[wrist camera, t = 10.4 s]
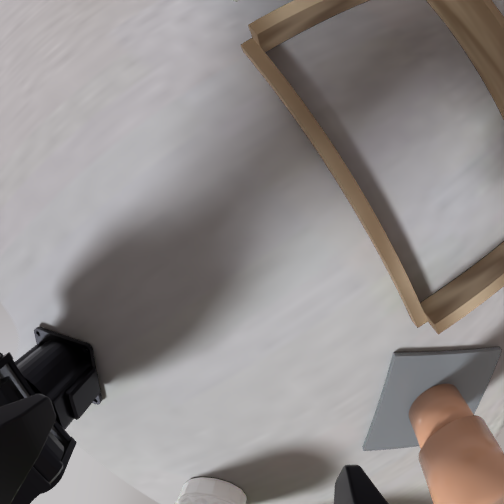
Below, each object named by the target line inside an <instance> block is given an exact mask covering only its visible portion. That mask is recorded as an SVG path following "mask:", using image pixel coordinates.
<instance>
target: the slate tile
mask: <svg viewBox="0 0 504 504" xmlns="http://www.w3.org/2000/svg"><path fill="white" fill-rule="evenodd" d="M501 351H502V349H501V348H500V347H492V348H481V349H468V350H453V351H434V352H399V353H393V356H392V360H391V364H390V367H389V371H388V374H387V378H386V381H385V384H384V388H383V391H382V394H381V397H380V400H379V403H378V406H377V409H376V412H375V415H374V418H373V421H372V423H371V426H370V429H369V432H368V434H367V437H366V440H365V442H364V445H363V451H372V450H386V449H397V448H406V447H415V446H419V443H418V440H417V438H416V435H415V433H414V430H413V427H412V425H411V422H410V420H409V410H410V407H411V405H412V404H413V402H414V401H415V400H416V399H417V397H418V396H420V395H421V394H422V393H423V392H424V391H426V390H428V389H429V388H431V387H433V386H436V385H439V384H452V385H454V386H455V387H456V388H457V389H458V391H459V392H460V394H461V395H462V397H463V398H464V400H465V401H466V403H467V405H468V406H469V408H470V409H471V411H472V413H473V414H474V413H475V411H476V409H477V407H478V405H479V403H480V401H481V399H482V396H483V394H484V392H485V390H486V388H487V386H488V383H489V381H490V379H491V376H492V374H493V372H494V369H495V367H496V364H497V362H498V359H499V356H500V354H501Z"/></svg>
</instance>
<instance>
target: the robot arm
mask: <svg viewBox="0 0 504 504" xmlns="http://www.w3.org/2000/svg"><path fill="white" fill-rule="evenodd" d="M34 333H35V338H36V342H37V345H36V346H35V347H33V348H32V349H31V350H29V351H28V352H27V353H26V354H24V355H23V356H22V357H21V358H19V359H18V360H17V361H16V362H14V361H13V357H12V356H11V354H10V353H7V354H5V355H4V356H3V354H1V353H0V504H30V503H31V502H32V501H33V500H34V498H36V497H37V496H38V495H39V494H41V493H45V492H47V491H49V490H50V489H52V488H53V487H54V486H55V485H56V484H57V483H58V482H59V481H60V479H61V478H62V476H63V474H64V471H65V469H66V467H67V464H68V461H69V459H70V457H71V454H72V452H73V449H74V447H75V445H76V441H75V440H74V439H73V438H72V437H70V436H69V434H68V433H67V432H66V431H65V429H66V428H67V426H68V425H69V424H70V423H71V422H72V420H73V419H76V420H77V419H79V418H80V417H81V416H82V414H83V413H84V412H85V411H86V409H87V408H88V407H89V406H90V404H91V403H94V404H100V403H101V401H102V397H101V393H100V387H99V382H98V377H97V371H96V367H95V361H94V355H93V349H92V347H91V345H89V344H88V343H86V342H82V341H79V340H76V339H73V338H70V337H67V336H64V335H61V334H58V333H55V332H53V331H50V330H47V329H44V328H41V327H37V328H36V329H35V330H34ZM86 349H87V350H86ZM334 504H388V503H387V501H386V500H385V499H384V497H383V496H382V495H381V493H380V492H379V491H378V489H377V488H376V487H375V486H374V484H373V483H372V482H371V480H370V479H369V478H368V476H367V475H366V474H365V472H364V471H363V469H362V468H361V467H360V466H359V465H345V466H344V467H343V469H342V471H341V472H340V474H339V476H338V478H337V480H336V483H335V494H334Z"/></svg>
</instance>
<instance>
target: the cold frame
mask: <svg viewBox="0 0 504 504" xmlns="http://www.w3.org/2000/svg"><path fill="white" fill-rule="evenodd" d="M234 1H236V2H237V1H239V0H234ZM366 1H369V0H294V1H292V2H290V3H288V4H286V5H284V6H282V7H280V8H278V9H276V10H274V11H272V12H270V13H268V14H267V15H265V16H263V17H261V18H259V19H258V20H256V21H254V22H252V23H251V24H249V25H248V26H249V29H250V32H251V35H252V38H251V39H249V40H248V41H246V42H244V43H243V44H241V47H242V49H243V52H244V53H245V54H246V55H247V57H248V58H249V59H250V60H251V62H252V63H253V64H254V65H255V67H256V68H257V69H258V70H259V72H260V73H261V74H262V75H263V77H264V78H265V79H266V81H267V82H268V83H269V85H270V86H271V87H272V88H273V90H274V91H275V92H276V94H277V95H278V96H279V98H280V99H281V101H282V102H283V103H284V105H285V106H286V107H287V109H288V110H289V111H290V113H291V114H292V116H293V117H294V118H295V120H296V121H297V123H298V124H299V126H300V127H301V128H302V130H303V131H304V133H305V134H306V136H307V137H308V139H309V140H310V141H311V143H312V144H313V146H314V147H315V149H316V150H317V152H318V153H319V155H320V156H321V158H322V159H323V161H324V163H325V164H326V166H327V167H328V169H329V170H330V172H331V173H332V175H333V177H334V178H335V180H336V181H337V183H338V185H339V186H340V188H341V189H342V191H343V193H344V194H345V196H346V198H347V199H348V201H349V203H350V204H351V206H352V208H353V209H354V211H355V213H356V214H357V216H358V218H359V220H360V221H361V223H362V225H363V227H364V228H365V230H366V232H367V234H368V235H369V237H370V239H371V241H372V243H373V244H374V246H375V248H376V250H377V252H378V254H379V255H380V257H381V259H382V261H383V263H384V265H385V267H386V269H387V271H388V272H389V274H390V276H391V278H392V280H393V282H394V284H395V286H396V288H397V290H398V292H399V294H400V296H401V298H402V300H403V302H404V304H405V307H406V309H407V311H408V313H409V315H410V317H411V319H412V321H413V322H414V324H415V325H416V326H417V328H418V327H420V326H422V325H423V324H425V323H426V322H429V323H430V325H431V326H432V327H433V328H434V330H435V331H436V332H437V333H438V334H440V333H441V332H443V331H444V330H446V329H447V328H449V327H450V326H451V325H453V324H454V323H456V322H457V321H459V320H460V319H461V318H463V317H464V316H466V315H467V314H468V313H470V312H471V311H472V310H474V309H475V308H476V307H478V306H479V305H480V304H482V303H483V302H484V301H486V300H487V299H488V298H490V297H491V296H492V295H493V294H495V293H496V292H497V291H498V290H500V289H501V288H502V287H503V286H504V242H503V243H501V244H500V245H499V246H498V247H497V248H495V249H494V250H493V251H492V252H490V253H489V254H488V255H487V256H485V257H484V258H483V259H481V260H480V261H479V262H477V263H476V264H475V265H473V266H472V267H471V268H470V269H468V270H467V271H465V272H464V273H463V274H461V275H460V276H459V277H457V278H456V279H454V280H453V281H452V282H450V283H449V284H447V285H446V286H445V287H443V288H442V289H440V290H439V291H437V292H436V293H434V294H433V295H431V296H430V297H428V298H427V299H425V300H424V301H422V302H421V303H420V302H419V300H418V298H417V296H416V293H415V291H414V289H413V287H412V285H411V283H410V281H409V278H408V276H407V274H406V272H405V270H404V268H403V266H402V264H401V262H400V260H399V258H398V256H397V254H396V252H395V250H394V248H393V246H392V244H391V242H390V241H389V239H388V237H387V235H386V233H385V231H384V229H383V228H382V226H381V224H380V222H379V220H378V218H377V217H376V215H375V213H374V211H373V209H372V208H371V206H370V204H369V202H368V201H367V199H366V197H365V196H364V194H363V192H362V191H361V189H360V187H359V185H358V184H357V182H356V181H355V179H354V177H353V176H352V174H351V172H350V171H349V169H348V168H347V166H346V164H345V163H344V161H343V160H342V158H341V156H340V155H339V153H338V152H337V150H336V149H335V147H334V146H333V144H332V143H331V141H330V140H329V138H328V137H327V135H326V134H325V132H324V131H323V129H322V128H321V126H320V125H319V123H318V122H317V121H316V119H315V118H314V116H313V115H312V114H311V112H310V111H309V109H308V108H307V107H306V105H305V104H304V102H303V101H302V100H301V98H300V97H299V96H298V94H297V93H296V92H295V90H294V89H293V88H292V86H291V85H290V84H289V82H288V81H287V80H286V78H285V77H284V76H283V75H282V73H281V72H280V71H279V69H278V68H277V67H276V66H275V64H274V63H273V62H272V61H271V59H270V58H269V57H268V56H267V55H266V53H265V52H267V51H269V50H270V49H272V48H274V47H275V46H277V45H279V44H281V43H282V42H284V41H286V40H288V39H290V38H291V37H293V36H295V35H297V34H299V33H301V32H303V31H304V30H306V29H308V28H310V27H312V26H314V25H316V24H318V23H320V22H322V21H324V20H326V19H328V18H330V17H333V16H335V15H337V14H339V13H341V12H343V11H346V10H348V9H350V8H352V7H355V6H357V5H359V4H362V3H364V2H366ZM426 1H427V2H428V3H429V4H430V6H431V7H432V8H433V9H434V10H435V12H436V13H437V14H438V15H439V17H440V18H441V19H442V20H443V22H444V23H445V24H446V26H447V27H448V28H449V30H450V31H451V32H452V34H453V35H454V37H455V38H456V39H457V41H458V42H459V44H460V45H461V47H462V48H463V49H464V51H465V52H466V54H467V55H468V57H469V59H470V60H471V62H472V63H473V65H474V66H475V68H476V70H477V71H478V73H479V75H480V76H481V78H482V80H483V81H484V83H485V85H486V87H487V88H488V90H489V92H490V94H491V96H492V97H493V99H494V101H495V103H496V105H497V107H498V109H499V111H500V113H501V115H502V117H503V119H504V17H503V15H502V14H501V12H500V11H499V10H498V8H497V7H496V6H495V4H494V3H493V2H492V0H426Z"/></svg>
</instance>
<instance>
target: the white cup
mask: <svg viewBox="0 0 504 504" xmlns="http://www.w3.org/2000/svg"><path fill="white" fill-rule="evenodd" d="M246 499H247V496H246V495H245V494H244V492H243V491H242V489H240V488H238V487H237V486H235V485H233V484H232V483H229V482H226V481H223V480H219V479H216V478H206V477H199V478H193V479H190V480H188V481H187V482H186V483H185V484H184V485H183V488H182V490H181V492H180V495H179V497H178V500H177V501H176V503H175V504H246Z"/></svg>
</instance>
